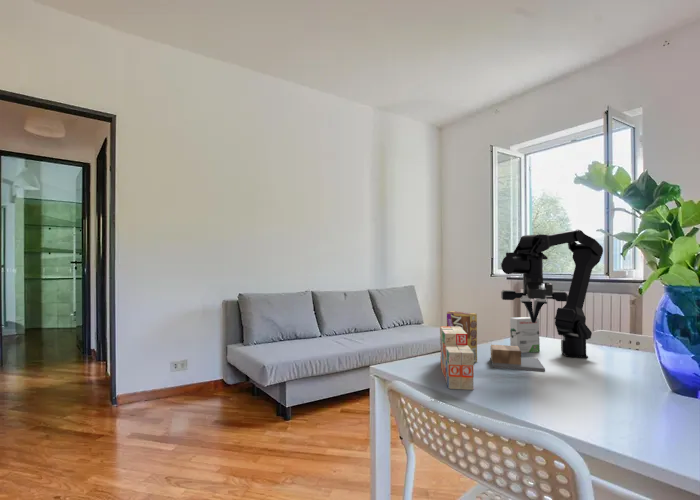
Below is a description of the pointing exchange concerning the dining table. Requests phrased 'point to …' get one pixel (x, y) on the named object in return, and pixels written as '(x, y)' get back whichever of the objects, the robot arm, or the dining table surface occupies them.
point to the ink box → (525, 334)
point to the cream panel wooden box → (505, 354)
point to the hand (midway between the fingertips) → (533, 322)
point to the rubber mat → (522, 365)
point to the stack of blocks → (456, 358)
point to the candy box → (465, 327)
